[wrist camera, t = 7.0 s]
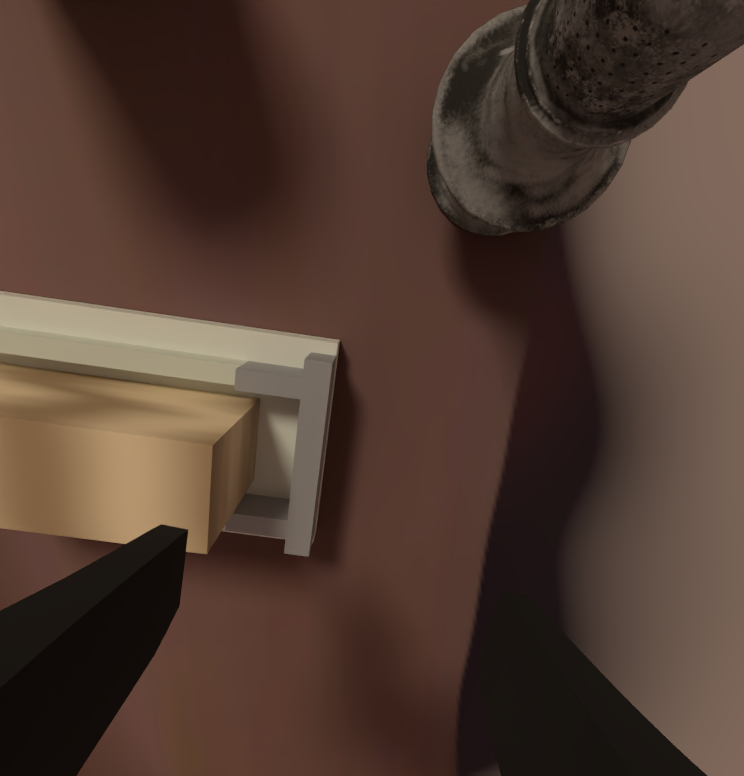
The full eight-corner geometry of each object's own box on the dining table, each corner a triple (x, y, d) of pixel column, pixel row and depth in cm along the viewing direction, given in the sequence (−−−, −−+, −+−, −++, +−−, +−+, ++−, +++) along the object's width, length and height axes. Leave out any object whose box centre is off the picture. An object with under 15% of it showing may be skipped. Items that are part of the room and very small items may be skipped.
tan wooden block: (-9, 444, 17) (-163, 507, 12) (-16, 360, 16) (-185, 391, 11) (254, 479, 17) (207, 554, 12) (260, 398, 16) (212, 445, 12)
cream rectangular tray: (-99, 475, 18) (-175, 505, 16) (-130, 272, 16) (-223, 269, 14) (316, 529, 19) (307, 567, 16) (339, 340, 17) (334, 349, 14)
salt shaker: (578, 231, 16) (1155, 71, 4) (428, 255, 16) (572, 167, 4) (573, 57, 14) (1431, -934, 3) (409, 86, 15) (547, -712, 3)
